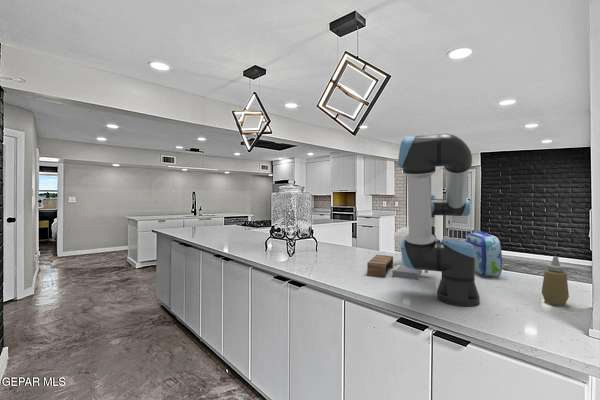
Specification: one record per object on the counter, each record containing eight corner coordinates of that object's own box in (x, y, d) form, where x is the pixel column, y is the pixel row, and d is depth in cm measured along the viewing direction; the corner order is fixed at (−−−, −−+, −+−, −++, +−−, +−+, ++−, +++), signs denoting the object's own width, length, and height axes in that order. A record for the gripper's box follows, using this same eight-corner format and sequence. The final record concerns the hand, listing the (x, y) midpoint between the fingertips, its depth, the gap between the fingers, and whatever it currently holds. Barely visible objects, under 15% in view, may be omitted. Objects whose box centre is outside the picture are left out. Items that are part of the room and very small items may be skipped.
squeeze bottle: (539, 303, 119) (540, 256, 119) (543, 298, 125) (544, 253, 124) (567, 309, 113) (568, 259, 113) (570, 303, 119) (571, 256, 118)
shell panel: (417, 280, 152) (417, 273, 152) (392, 277, 157) (392, 270, 157) (421, 273, 165) (421, 266, 165) (398, 270, 171) (398, 264, 171)
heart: (414, 270, 169) (414, 229, 169) (389, 265, 181) (389, 226, 180) (438, 262, 188) (438, 225, 187) (414, 258, 199) (414, 223, 199)
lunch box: (463, 266, 179) (463, 229, 178) (483, 267, 177) (484, 229, 176) (479, 278, 153) (480, 235, 153) (503, 279, 151) (504, 236, 151)
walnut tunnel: (385, 277, 155) (385, 264, 155) (367, 275, 159) (367, 262, 159) (393, 267, 175) (393, 255, 175) (376, 266, 179) (376, 254, 179)
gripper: (441, 225, 157) (440, 272, 158) (413, 224, 163) (413, 269, 164) (440, 226, 150) (440, 275, 151) (411, 225, 156) (411, 272, 157)
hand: (426, 272), depth 157 cm, fingers closed
